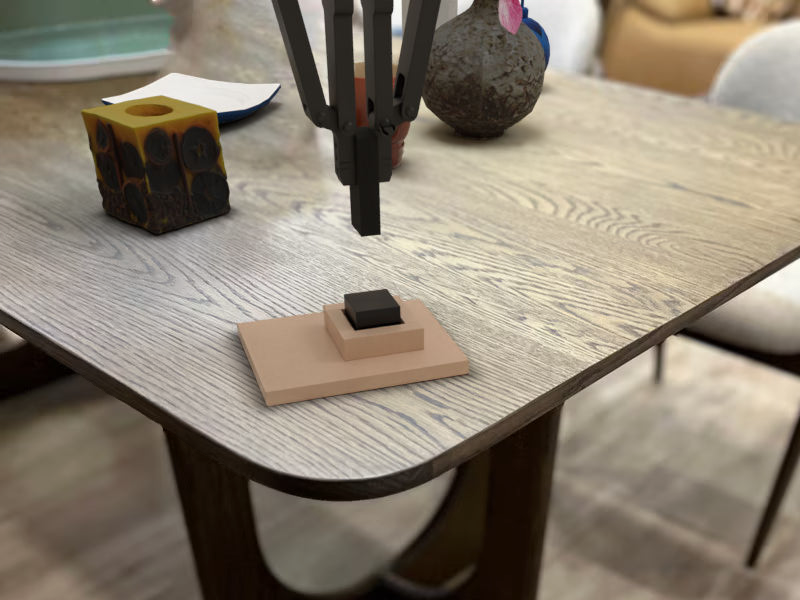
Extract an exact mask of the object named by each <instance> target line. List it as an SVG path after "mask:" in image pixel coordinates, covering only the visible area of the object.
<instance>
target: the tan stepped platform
mask: <svg viewBox="0 0 800 600" xmlns="http://www.w3.org/2000/svg"><path fill="white" fill-rule="evenodd" d="M392 296H393V298H394V299H395V300H396V302H397V303H398V304H399V305H400V312H401V324H399V325H392V326H385V327H378V328H371V329H364V330H357V331H355V329H354V328H353V326H352V325H351V323H350V321H349V320H348V318H347V317H346V315H345V305H344V302H337V303H330V304H329V303H328V304H323V305H322V311H318V312H312V313H305V314H297V315H290V316H282V317H275V318H267V319H259V320H252V321H245V322H237V323H236V329H237V335H238V338H239V341H240V343H241V346H242V348H243V351H244V353H245V356H246V359H247V360H248V363H249V365H250V368H251V370H252V372H253V375H254V377H255V380H256V382H257V385H258V387H259V390H260V392H261V394H262V397H263V400H264V402H265V405H266V407H272V406H273V407H274V406H277V405H278V406H279V405H285V404H290V403H296V402H304V401H308V400H309V401H310V400H315V399H321V398H327V397H334V396H341V395H345V394H346V395H347V394H352V393H359V392H364V391H371V390H376V389H377V390H378V389H383V388H390V387H395V386H401V385H406V384H407V385H408V384H413V383H419V382H426V381H432V380H437V379H438V380H439V379H445V378H451V377H456V376H462V375H468V374H469V371H470V359H469V358H468V357H467V356H466V354H465V353H464V352H463V350H462V349H461V348H460V347H459V346H458V344H457V343H456V342H455V340H453V337H452V336H450V335H449V333H448V332H447V331H446V330H445V328H444V327H443V326H442V324H441V323H440V322H439V321H438V319H436V317H435V316H434V315H433V314H432V312H431V311H430V309H429V308H428V307H427V305H425V304H424V302H423V301H422V300H421V298H414V299H407V300H403V298H402V296H400V295H399V294H397V295H392Z"/></svg>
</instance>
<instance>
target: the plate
mask: <svg viewBox="0 0 800 600" xmlns="http://www.w3.org/2000/svg"><path fill="white" fill-rule="evenodd" d="M281 88H282V84H281V83H240V82H229V81H223V80H214V79H208V78H202V77H198V76H192V75H188V74H183V73H179V72H170V73H169V74H167V75H165V76H163V77H160V78H159V79H157V80H155V81H153V82H151V83H149V84H147V85H145V86H142V87H140V88H136V89H134V90H132V91H129V92H126V93H123V94H119V95H113V96H110V97H104V98H101V102H102V104H103V105H104V106H107V105H112V104H116V103H120V102H124V101H129V100H136V99H142V98H147V97H153V96H160V95H163V96H166V97H170V98H173V99H178V100H181V101H184V102H188V103H192V104H196V105H200V106H203V107H206V108H209V109H212V110H215V111H217V117H218V125H221V124H225V123H230V122H235V121H238V120H241V119H244V118H246V117H249V116H250V115H251V114H253V113H254V112H256V111H258V110H260V109H262V108H263V107H265V106H267V105H269V104H270V102H272V100H273V99H274V98H275V96H276V95H277V94H278V93H279V91H280V90H281Z"/></svg>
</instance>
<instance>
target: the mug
mask: <svg viewBox="0 0 800 600" xmlns="http://www.w3.org/2000/svg"><path fill="white" fill-rule="evenodd" d="M397 67H398V63H397V64H396V63H392V71H393V89H394V83H395V78H396V72H397ZM354 75H355V99H356V124H357V127H363V126H367V127H368V128H369V122H368V120H367V114H366V88H365V61H360V62H354ZM411 123H412V122H407V121H406V122H404V123H402V124H400V125H398V126H397V129H396V132H395V134H394V135H393V136H392V138H391V139H392V170H394V169H395V168H397V167H398V166H399V165H400V164H401V163H402V161H403V157H404V153H405V145H406V143H405V140H406V138H407V137H408V134H409V132H410V128H411Z"/></svg>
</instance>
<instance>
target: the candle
mask: <svg viewBox="0 0 800 600" xmlns="http://www.w3.org/2000/svg"><path fill="white" fill-rule="evenodd" d="M80 114H81V117H82V120H83V124H84V127H85V130H86V134H87V139H88V146H89V150H90V152H91V156H92V161H93V163H94V172H95V177H96V182H97V187H98V191H99V194H100V197H101V198H102V201H101V207H102V209H103V211H104V212H105V213H107V214H108V215H111V216H112V217H116V218H117V219H119V220H122V221H124V222H126V223H128V224H131V225H135V226H140V227H143V228H144V229H146V230H148V231H149V232H151V233H153V235H154V234H155V235H156V234H157V235H158V234H162V233H166V232H168V231H172V230H177V229H180V228H183V227H185V226H186V227H187V226H189V225H193V224H195V223H199V222H203V221H205V220H207V219H210V218H214V217H217V216H222V215H224V214H227V213H230V212H231V208H232V207H231V203H230V194H231V191H230V185H229V182H228V173H227V170H226V165H225V161H224V154H223V153H224V152H223V146H222V144H221V142H220V139H221V133H220V129H219V124H218V117H217V111H215V110H212V109H209V108H206V107H203V106H200V105H196V104H192V103H188V102H184V101H181V100H178V99H173V98H170V97H166V96H163V95H160V96H153V97H147V98H142V99H136V100H129V101H124V102H120V103H116V104H112V105H107V106H106V105H102V106H97V107H92V108H83V109H81V111H80Z"/></svg>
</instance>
